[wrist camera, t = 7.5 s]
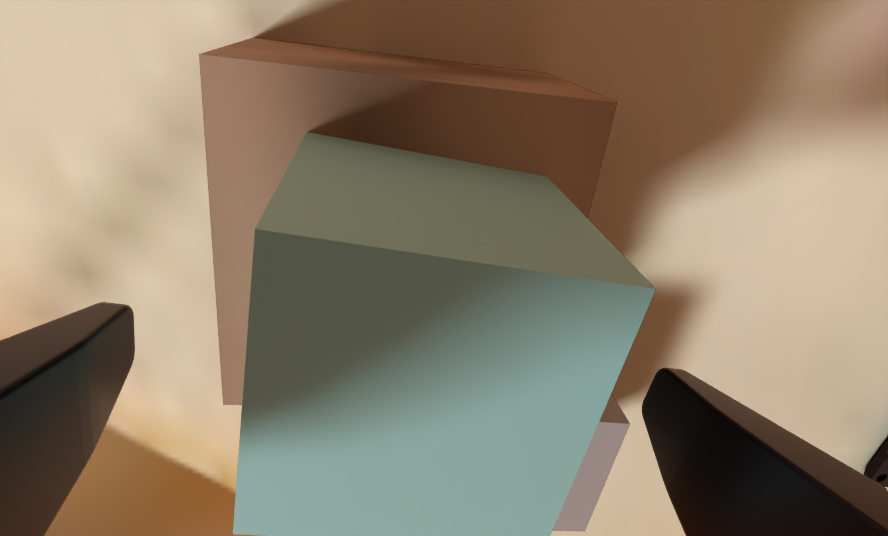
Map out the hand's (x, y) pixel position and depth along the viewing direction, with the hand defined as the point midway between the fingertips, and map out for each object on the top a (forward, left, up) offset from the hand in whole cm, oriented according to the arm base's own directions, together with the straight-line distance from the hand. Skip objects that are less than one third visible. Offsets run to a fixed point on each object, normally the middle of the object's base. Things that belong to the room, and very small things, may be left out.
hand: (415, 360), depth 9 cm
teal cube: (0, 0, -3) cm, 3 cm away
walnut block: (0, 0, -8) cm, 8 cm away
